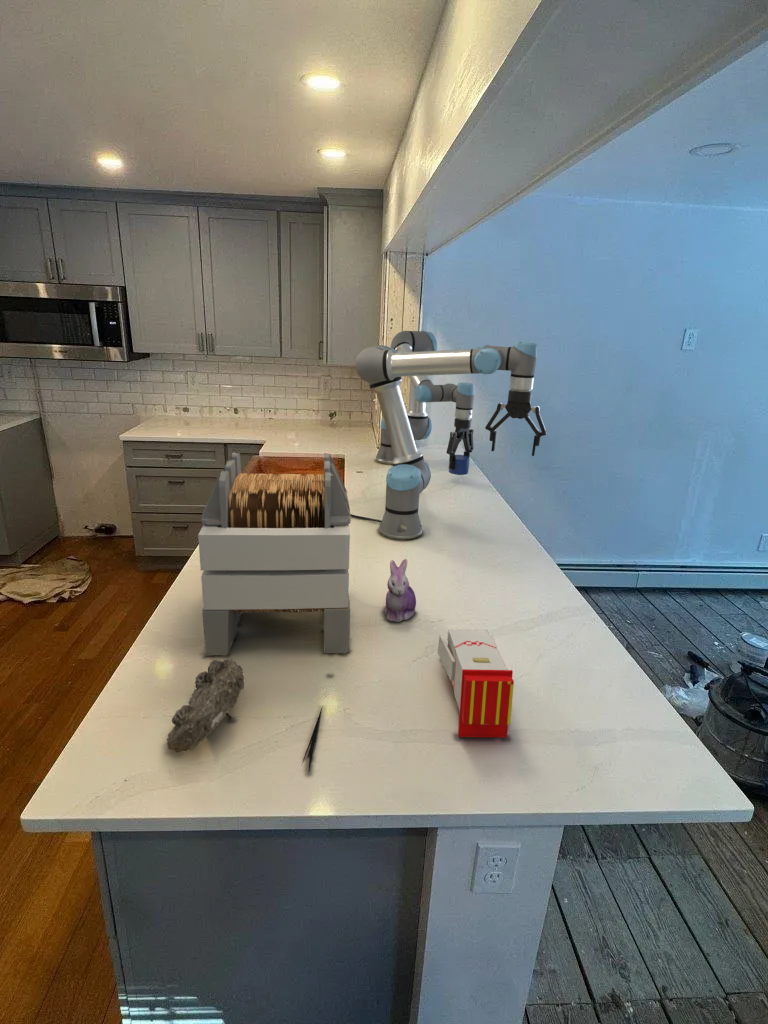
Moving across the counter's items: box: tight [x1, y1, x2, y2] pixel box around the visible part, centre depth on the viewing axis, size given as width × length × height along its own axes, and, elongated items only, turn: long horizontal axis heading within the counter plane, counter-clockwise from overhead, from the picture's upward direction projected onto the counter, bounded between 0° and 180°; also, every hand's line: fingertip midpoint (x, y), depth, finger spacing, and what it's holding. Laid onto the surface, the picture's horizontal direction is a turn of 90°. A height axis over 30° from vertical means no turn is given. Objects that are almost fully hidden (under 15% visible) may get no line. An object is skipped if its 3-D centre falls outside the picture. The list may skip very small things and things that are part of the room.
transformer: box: [197, 451, 352, 657], centre depth 136 cm, size 34×33×41 cm
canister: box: [448, 454, 471, 476], centre depth 260 cm, size 9×9×7 cm
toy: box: [437, 628, 515, 738], centre depth 117 cm, size 12×13×30 cm
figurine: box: [384, 558, 417, 623], centre depth 145 cm, size 9×10×15 cm
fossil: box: [166, 658, 245, 754], centre depth 106 cm, size 22×10×15 cm
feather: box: [301, 673, 332, 771], centre depth 108 cm, size 2×28×2 cm
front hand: (512, 452), depth 194 cm, fingers open, 13 cm apart
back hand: (458, 467), depth 260 cm, fingers closed on canister, 9 cm apart
